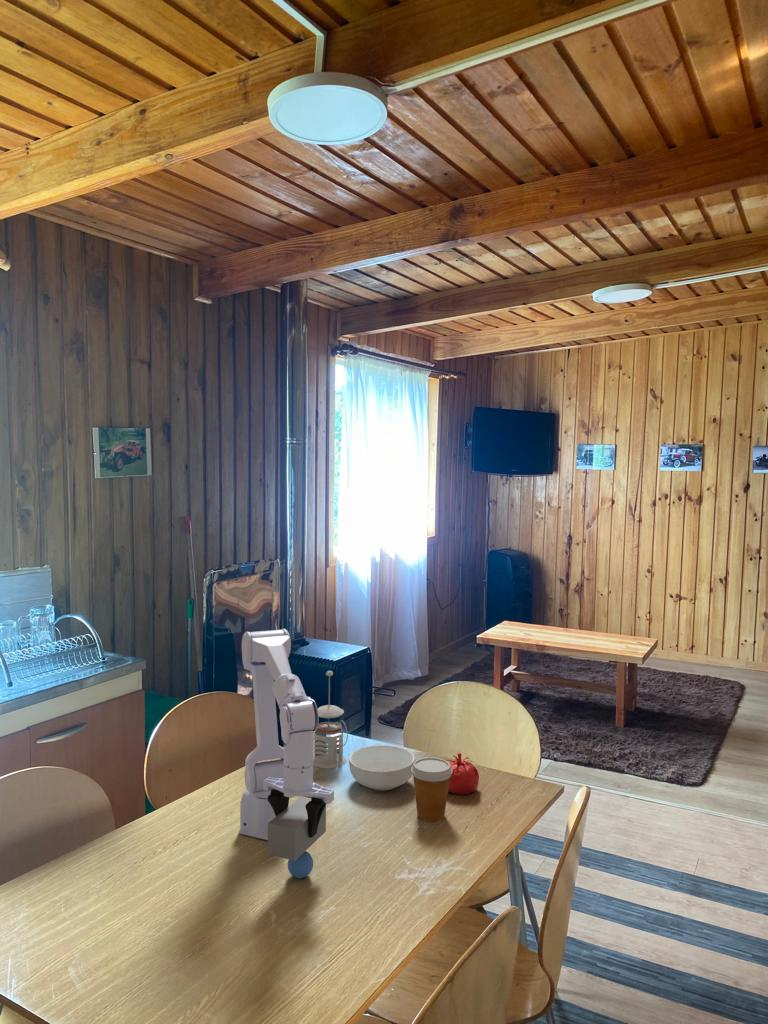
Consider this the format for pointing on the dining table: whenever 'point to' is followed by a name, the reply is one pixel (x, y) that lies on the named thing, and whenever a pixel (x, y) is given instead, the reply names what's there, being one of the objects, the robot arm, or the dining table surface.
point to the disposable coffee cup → (431, 787)
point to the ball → (301, 866)
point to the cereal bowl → (381, 766)
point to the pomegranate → (463, 776)
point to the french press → (332, 755)
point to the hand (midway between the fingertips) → (297, 831)
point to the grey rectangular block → (293, 831)
